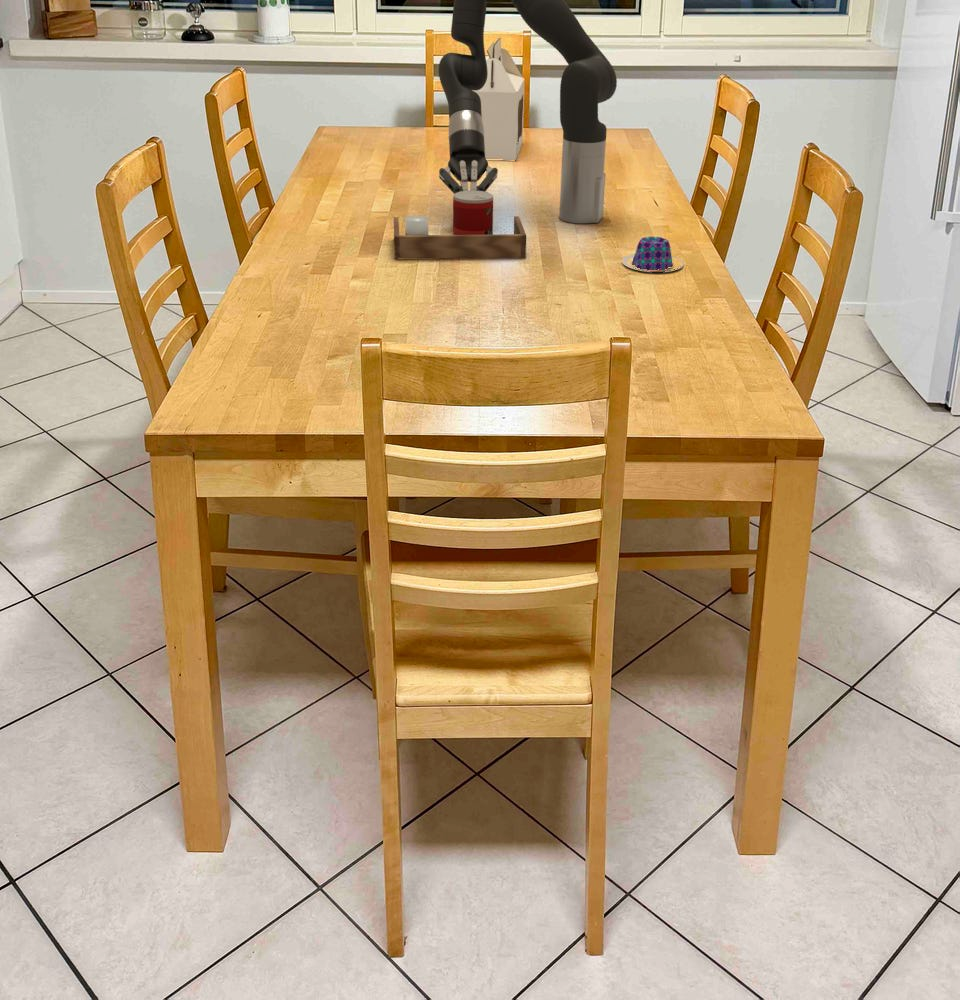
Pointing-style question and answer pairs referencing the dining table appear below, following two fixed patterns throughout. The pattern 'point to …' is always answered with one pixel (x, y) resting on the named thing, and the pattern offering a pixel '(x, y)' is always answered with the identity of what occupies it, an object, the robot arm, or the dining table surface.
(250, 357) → the dining table surface
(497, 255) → the u-shaped frame
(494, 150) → the gable box
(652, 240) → the patterned hat
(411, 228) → the grey rounded capsule
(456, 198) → the canned food
